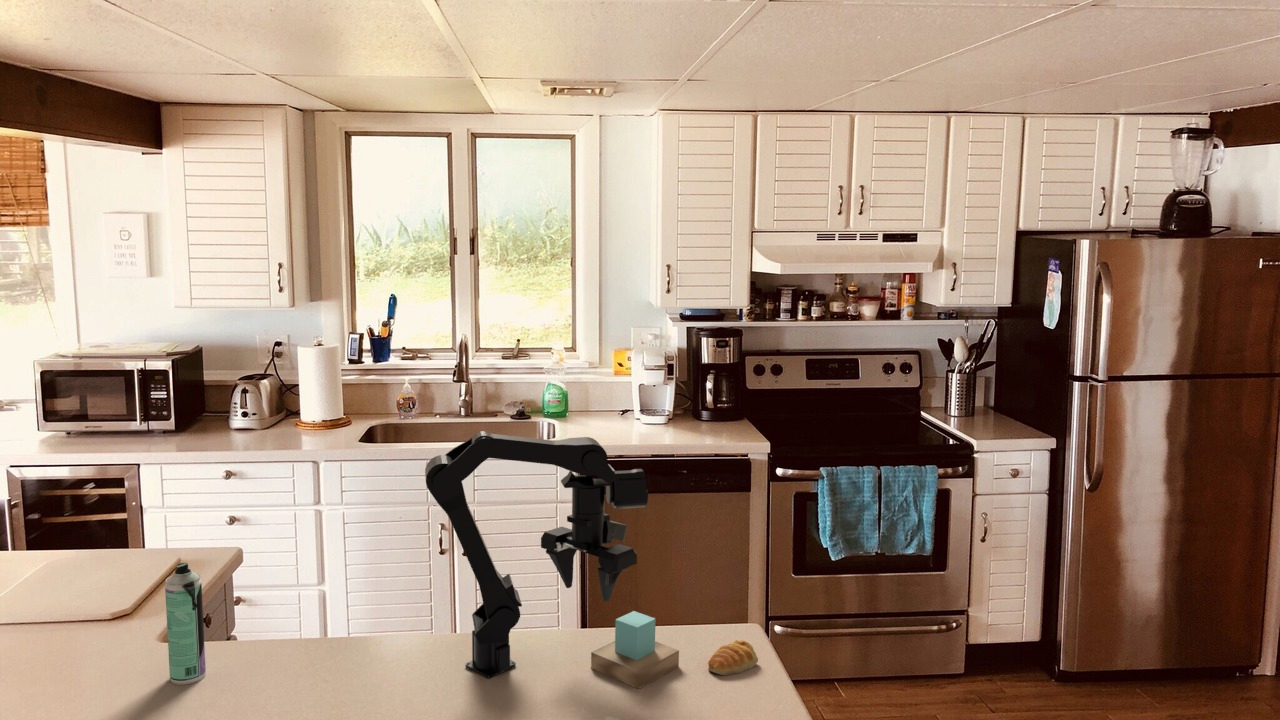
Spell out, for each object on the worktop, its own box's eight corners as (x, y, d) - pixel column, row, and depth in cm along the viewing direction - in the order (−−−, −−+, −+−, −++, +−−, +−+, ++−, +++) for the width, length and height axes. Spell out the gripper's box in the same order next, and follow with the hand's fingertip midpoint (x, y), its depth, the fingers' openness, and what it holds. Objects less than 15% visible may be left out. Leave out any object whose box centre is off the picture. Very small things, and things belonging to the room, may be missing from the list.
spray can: (213, 672, 159) (207, 561, 156) (188, 687, 153) (182, 571, 151) (188, 667, 160) (182, 556, 158) (162, 681, 155) (156, 567, 153)
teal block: (615, 651, 162) (615, 619, 162) (633, 642, 166) (633, 610, 165) (636, 660, 159) (637, 627, 159) (654, 650, 163) (655, 618, 162)
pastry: (727, 682, 159) (728, 661, 158) (698, 669, 163) (698, 649, 163) (760, 665, 165) (761, 645, 165) (731, 653, 170) (731, 633, 170)
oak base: (591, 668, 163) (591, 652, 162) (631, 647, 171) (632, 632, 171) (638, 688, 156) (638, 671, 155) (678, 666, 164) (679, 650, 163)
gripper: (657, 510, 163) (656, 595, 165) (581, 490, 175) (581, 569, 177) (615, 525, 155) (614, 613, 157) (538, 502, 167) (538, 585, 169)
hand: (587, 594), depth 165 cm, fingers open, 9 cm apart
